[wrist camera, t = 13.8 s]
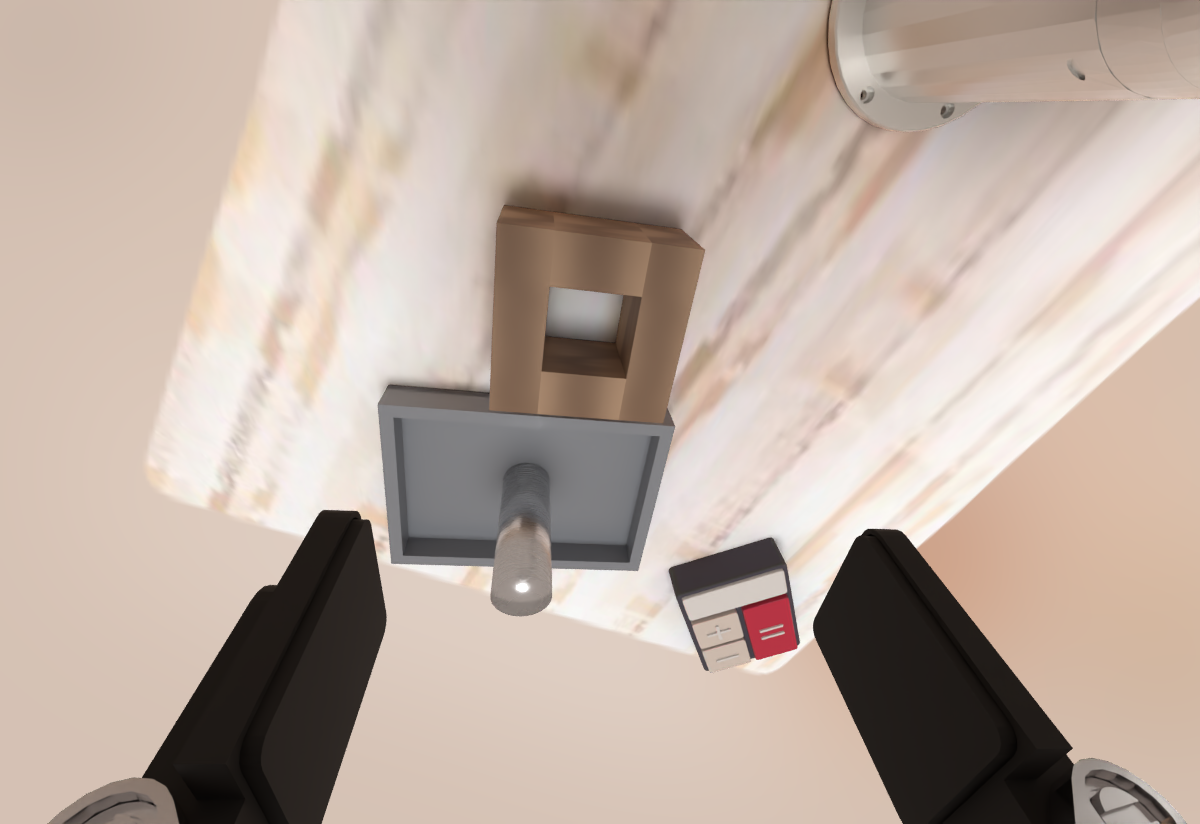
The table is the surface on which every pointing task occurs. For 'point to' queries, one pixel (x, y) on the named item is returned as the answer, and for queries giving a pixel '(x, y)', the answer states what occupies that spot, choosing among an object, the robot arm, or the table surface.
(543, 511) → the pin
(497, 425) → the tray
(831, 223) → the table surface
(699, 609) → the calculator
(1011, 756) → the robot arm
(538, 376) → the block
